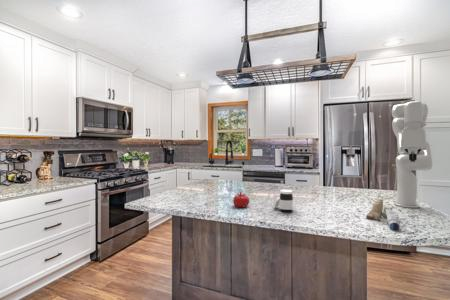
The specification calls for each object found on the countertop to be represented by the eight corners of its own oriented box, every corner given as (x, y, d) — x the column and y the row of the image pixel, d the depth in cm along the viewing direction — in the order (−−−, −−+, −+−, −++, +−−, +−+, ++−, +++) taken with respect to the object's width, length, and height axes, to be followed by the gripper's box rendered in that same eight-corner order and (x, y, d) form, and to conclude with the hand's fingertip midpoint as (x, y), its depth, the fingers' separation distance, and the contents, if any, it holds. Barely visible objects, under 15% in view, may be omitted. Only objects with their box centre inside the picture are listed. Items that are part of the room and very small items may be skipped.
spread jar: (293, 213, 134) (293, 192, 134) (272, 212, 137) (272, 191, 137) (292, 207, 146) (292, 188, 146) (273, 206, 149) (273, 188, 148)
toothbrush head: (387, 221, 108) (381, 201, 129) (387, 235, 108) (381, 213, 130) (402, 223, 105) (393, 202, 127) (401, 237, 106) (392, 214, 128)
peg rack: (371, 211, 136) (371, 197, 135) (383, 213, 132) (383, 199, 132) (366, 218, 123) (366, 203, 123) (378, 220, 120) (378, 204, 120)
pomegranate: (251, 208, 147) (251, 193, 147) (236, 209, 144) (236, 193, 144) (245, 203, 156) (245, 189, 156) (231, 204, 154) (231, 190, 153)
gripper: (432, 125, 122) (431, 161, 122) (396, 127, 131) (395, 160, 132) (432, 124, 116) (431, 162, 116) (394, 126, 126) (394, 161, 126)
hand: (412, 161), depth 124 cm, fingers closed
